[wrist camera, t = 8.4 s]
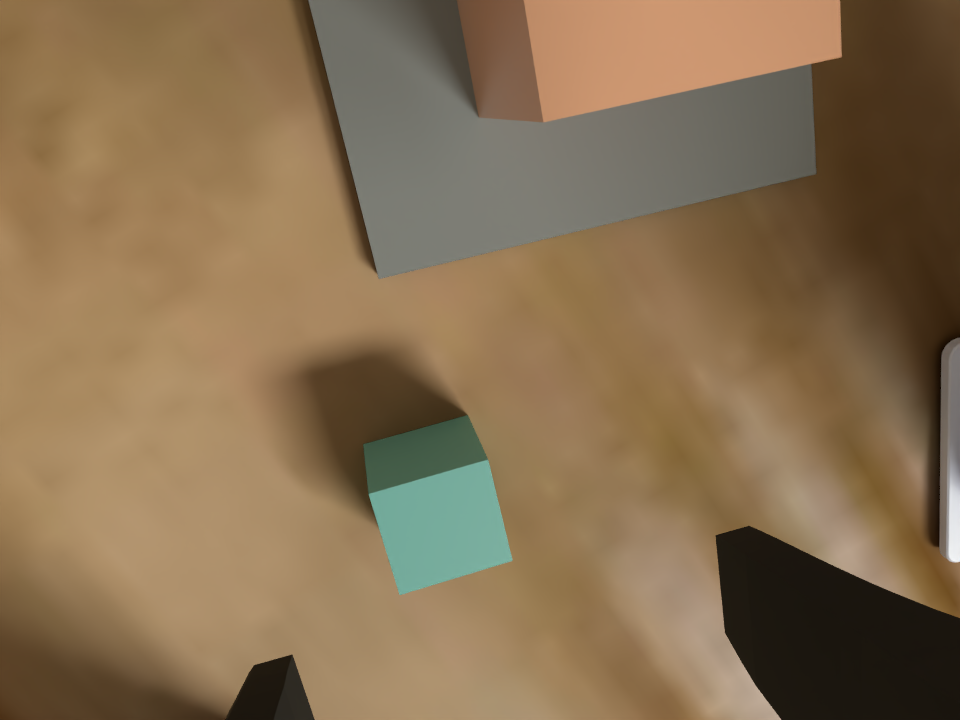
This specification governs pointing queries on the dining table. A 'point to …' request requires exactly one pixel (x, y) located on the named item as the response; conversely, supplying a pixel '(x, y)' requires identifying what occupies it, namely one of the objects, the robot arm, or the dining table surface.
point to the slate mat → (530, 142)
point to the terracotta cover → (631, 49)
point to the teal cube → (435, 504)
